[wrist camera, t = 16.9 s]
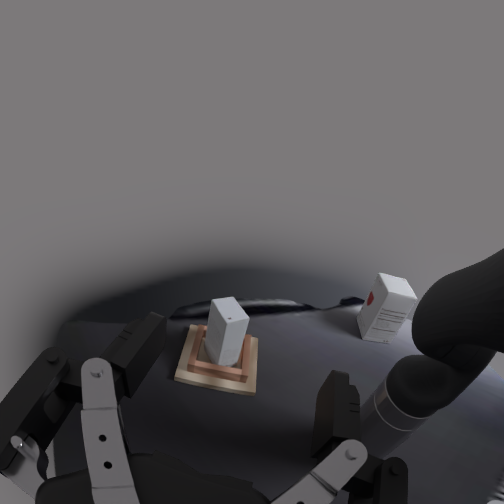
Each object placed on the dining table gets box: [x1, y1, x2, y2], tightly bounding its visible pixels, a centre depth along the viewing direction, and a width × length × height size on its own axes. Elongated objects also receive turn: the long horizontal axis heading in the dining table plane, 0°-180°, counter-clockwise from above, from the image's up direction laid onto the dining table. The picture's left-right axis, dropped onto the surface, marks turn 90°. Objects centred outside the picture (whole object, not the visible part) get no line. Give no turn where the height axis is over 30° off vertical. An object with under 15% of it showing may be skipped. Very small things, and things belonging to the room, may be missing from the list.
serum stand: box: [174, 325, 258, 396], centre depth 50 cm, size 14×14×3 cm
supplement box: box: [356, 273, 417, 344], centre depth 65 cm, size 9×9×15 cm
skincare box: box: [204, 297, 249, 367], centre depth 48 cm, size 6×4×12 cm
